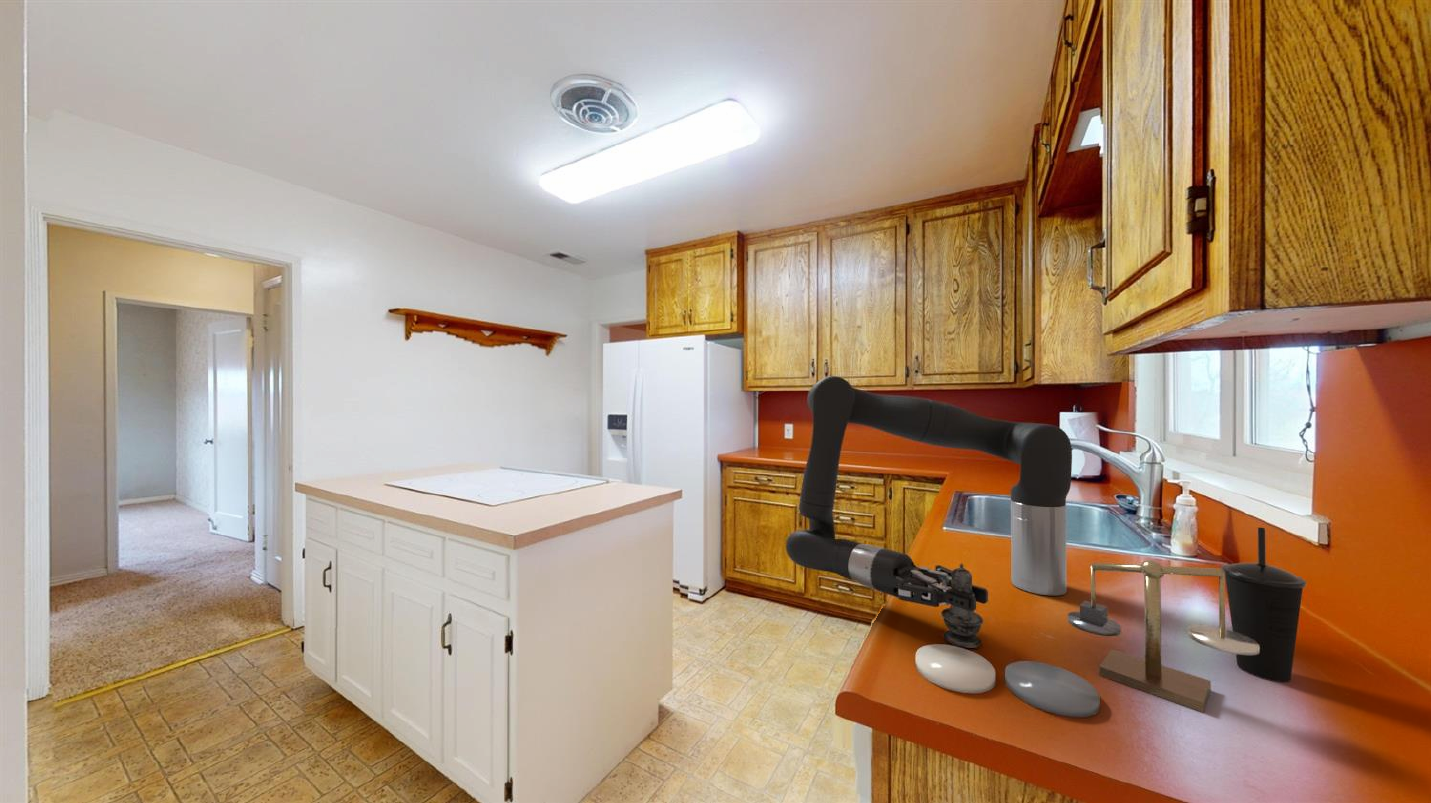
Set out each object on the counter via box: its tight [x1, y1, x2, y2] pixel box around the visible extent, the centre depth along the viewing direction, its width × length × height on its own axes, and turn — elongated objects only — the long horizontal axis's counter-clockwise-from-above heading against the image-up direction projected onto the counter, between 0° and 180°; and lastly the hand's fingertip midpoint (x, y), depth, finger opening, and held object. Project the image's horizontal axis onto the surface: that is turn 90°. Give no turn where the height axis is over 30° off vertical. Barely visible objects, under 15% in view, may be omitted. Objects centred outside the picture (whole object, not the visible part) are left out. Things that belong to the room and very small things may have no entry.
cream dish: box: [914, 643, 996, 694], centre depth 66 cm, size 10×10×1 cm
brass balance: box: [1067, 559, 1260, 713], centre depth 63 cm, size 7×19×17 cm, turn 38°
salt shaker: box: [940, 562, 984, 649], centre depth 74 cm, size 6×6×12 cm
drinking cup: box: [1221, 527, 1307, 683], centre depth 65 cm, size 8×8×20 cm
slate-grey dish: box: [1004, 660, 1101, 718], centre depth 61 cm, size 10×10×1 cm
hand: (980, 600), depth 71 cm, fingers closed on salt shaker, 3 cm apart
